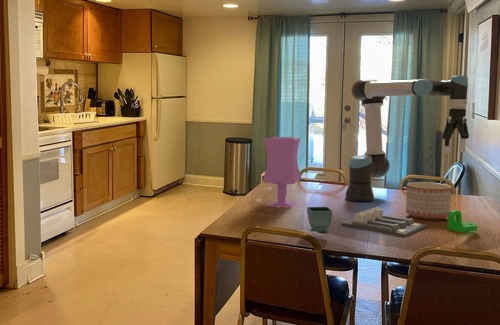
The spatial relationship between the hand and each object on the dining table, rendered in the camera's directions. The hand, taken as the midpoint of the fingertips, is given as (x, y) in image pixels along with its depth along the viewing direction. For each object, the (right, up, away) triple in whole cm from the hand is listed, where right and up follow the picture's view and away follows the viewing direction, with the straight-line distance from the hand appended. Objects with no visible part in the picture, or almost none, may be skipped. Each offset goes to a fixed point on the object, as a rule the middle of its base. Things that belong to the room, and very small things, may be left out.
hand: (454, 152), depth 230 cm
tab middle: (-48, -30, -24) cm, 61 cm away
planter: (-17, -30, -9) cm, 36 cm away
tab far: (-43, -30, -19) cm, 56 cm away
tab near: (-52, -31, -29) cm, 67 cm away
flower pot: (-71, -33, -36) cm, 86 cm away
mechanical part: (-10, -33, -33) cm, 48 cm away
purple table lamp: (-83, -27, +13) cm, 88 cm away
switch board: (-43, -32, -29) cm, 60 cm away
